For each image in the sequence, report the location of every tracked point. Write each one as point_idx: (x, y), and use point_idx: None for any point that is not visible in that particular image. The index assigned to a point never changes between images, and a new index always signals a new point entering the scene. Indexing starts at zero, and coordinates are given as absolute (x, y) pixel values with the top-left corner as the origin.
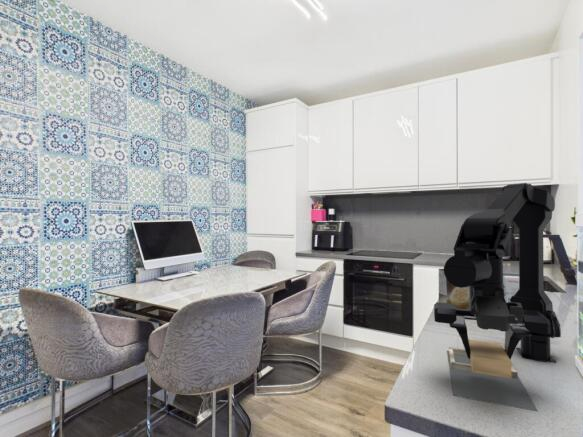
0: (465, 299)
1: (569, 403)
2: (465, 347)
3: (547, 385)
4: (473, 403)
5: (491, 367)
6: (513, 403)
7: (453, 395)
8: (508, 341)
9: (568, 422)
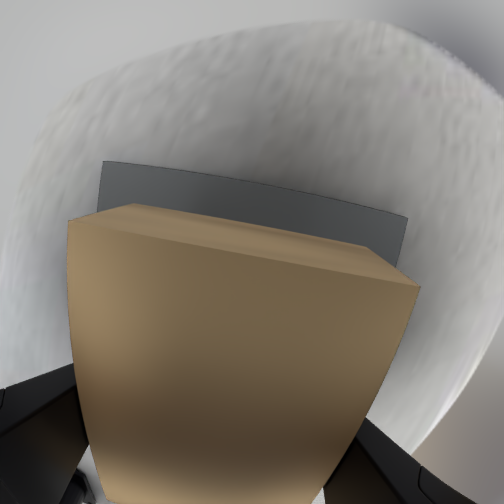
0: None
1: (12, 264)
2: (387, 442)
3: (40, 362)
4: (336, 188)
5: (248, 236)
6: (170, 197)
7: (406, 218)
8: (12, 454)
9: (47, 142)
